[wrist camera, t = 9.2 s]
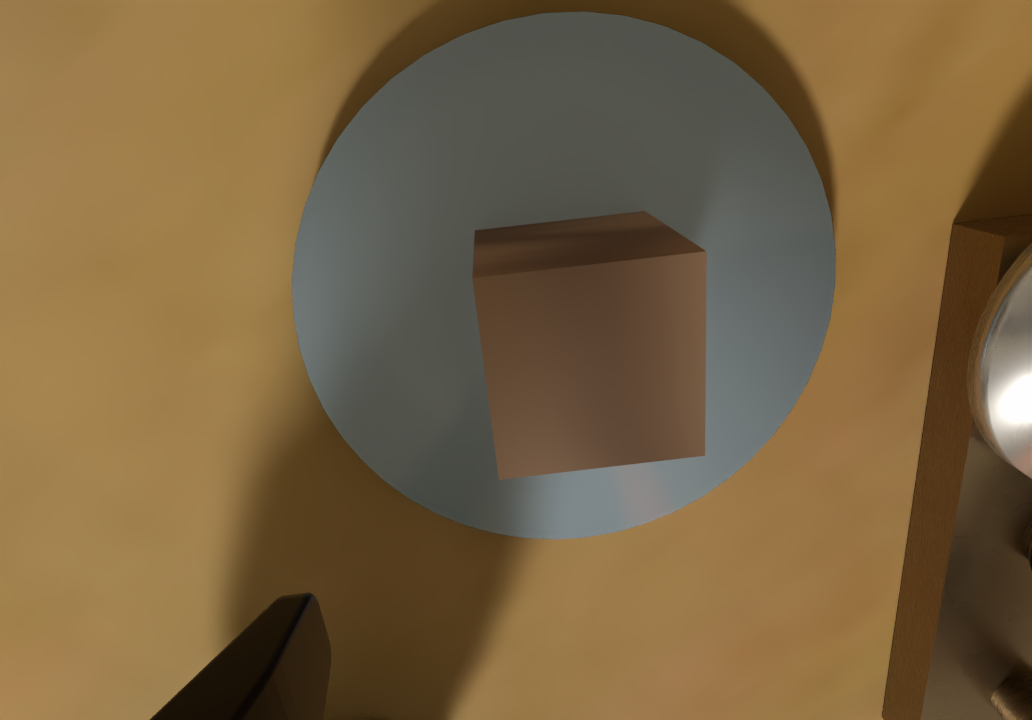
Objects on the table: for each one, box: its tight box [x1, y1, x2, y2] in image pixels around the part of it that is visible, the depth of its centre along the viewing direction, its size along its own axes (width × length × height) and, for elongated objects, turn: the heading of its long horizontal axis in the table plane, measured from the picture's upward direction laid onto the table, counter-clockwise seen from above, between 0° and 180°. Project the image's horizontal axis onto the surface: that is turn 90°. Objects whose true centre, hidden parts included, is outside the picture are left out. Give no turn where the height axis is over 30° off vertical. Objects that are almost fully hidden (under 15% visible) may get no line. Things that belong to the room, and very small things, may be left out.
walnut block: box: [472, 211, 707, 480], centre depth 15 cm, size 4×4×5 cm
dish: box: [292, 11, 836, 539], centre depth 18 cm, size 15×15×1 cm
